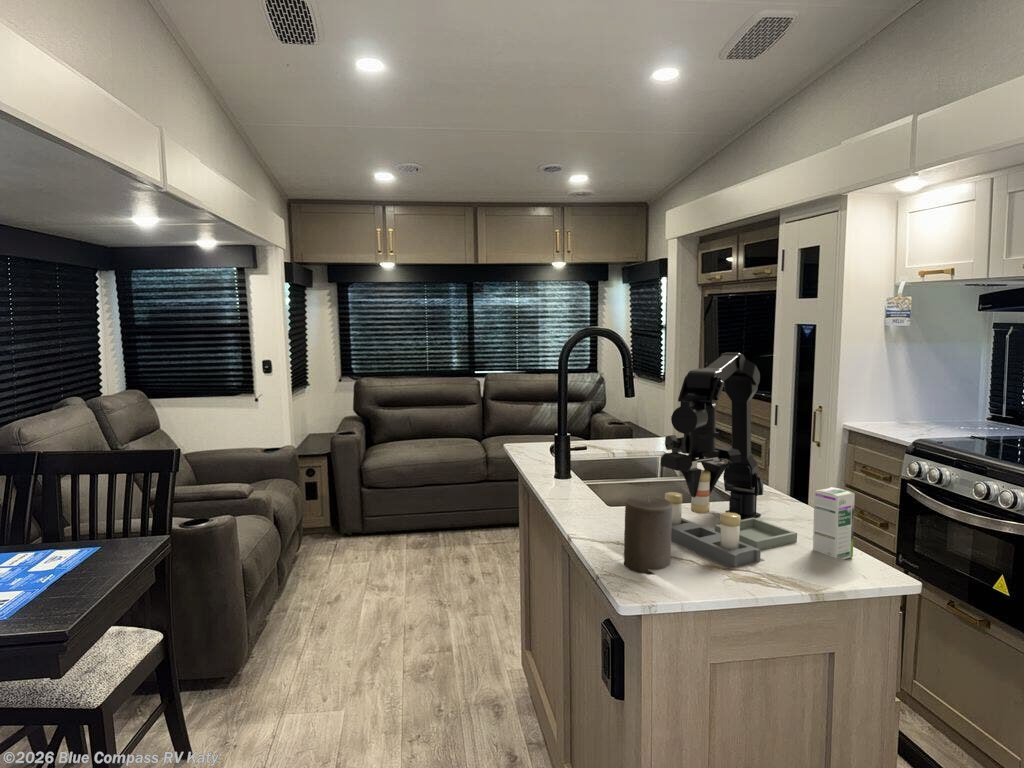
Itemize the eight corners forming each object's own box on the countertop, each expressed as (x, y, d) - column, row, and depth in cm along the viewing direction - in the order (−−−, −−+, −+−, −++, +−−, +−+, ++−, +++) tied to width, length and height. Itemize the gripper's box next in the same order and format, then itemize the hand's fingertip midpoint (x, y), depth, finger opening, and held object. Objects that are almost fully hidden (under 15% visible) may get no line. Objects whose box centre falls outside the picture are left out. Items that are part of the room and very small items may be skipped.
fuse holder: (642, 532, 152) (643, 518, 152) (675, 526, 156) (675, 512, 156) (729, 573, 127) (729, 556, 127) (764, 564, 131) (765, 548, 131)
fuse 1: (673, 527, 152) (674, 491, 151) (685, 532, 149) (685, 495, 148) (660, 530, 151) (661, 493, 150) (671, 535, 147) (672, 497, 146)
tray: (753, 529, 154) (753, 517, 153) (796, 545, 142) (797, 532, 142) (714, 537, 148) (714, 525, 148) (756, 555, 137) (756, 541, 136)
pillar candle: (623, 572, 128) (625, 501, 126) (623, 555, 137) (625, 488, 136) (672, 576, 126) (675, 504, 124) (669, 558, 136) (671, 490, 134)
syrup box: (836, 562, 132) (839, 495, 131) (811, 553, 137) (814, 489, 136) (853, 557, 135) (856, 492, 133) (828, 549, 140) (831, 485, 139)
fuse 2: (729, 551, 136) (730, 511, 135) (743, 557, 133) (744, 516, 132) (715, 554, 134) (716, 514, 134) (729, 561, 131) (730, 519, 130)
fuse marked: (700, 507, 143) (701, 469, 143) (713, 512, 140) (714, 472, 139) (687, 509, 142) (687, 470, 141) (699, 514, 138) (700, 474, 137)
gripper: (707, 419, 150) (706, 482, 152) (645, 425, 142) (644, 492, 144) (743, 425, 140) (741, 493, 142) (678, 432, 132) (677, 504, 134)
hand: (700, 495), depth 140 cm, fingers closed on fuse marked, 4 cm apart
